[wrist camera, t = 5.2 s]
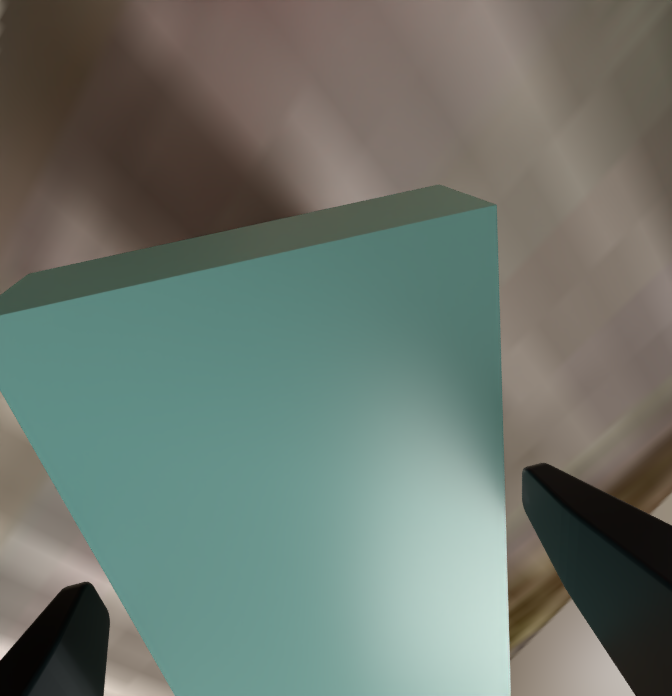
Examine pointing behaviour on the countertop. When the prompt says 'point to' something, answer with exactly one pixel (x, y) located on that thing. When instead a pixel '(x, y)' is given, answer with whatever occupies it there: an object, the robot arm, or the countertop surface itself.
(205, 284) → the lid
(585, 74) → the countertop surface
